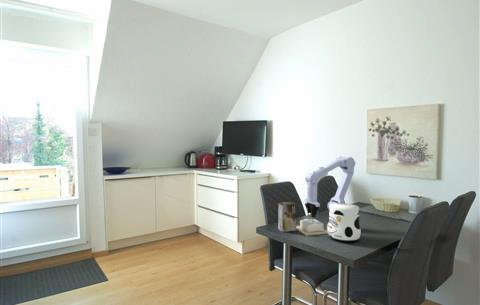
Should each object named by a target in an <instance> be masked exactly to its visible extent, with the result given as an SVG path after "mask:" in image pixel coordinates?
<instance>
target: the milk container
mask: <svg viewBox="0 0 480 305" xmlns="http://www.w3.org/2000/svg"><path fill="white" fill-rule="evenodd" d="M328 212H329V214H328V215H329V216H328V222H327V225H328V226H327V225H326V228H327V229H326V230H327V232H328V235H327V236H329V237H330V238H332V239H333V240H336V241H340V242H355V241H358V240H359V239H360V237H361V234H362V232H361V226H360V207H359V205H356V204H352V203H346V202H345V203H333V204H330V207H329V210H328Z"/></svg>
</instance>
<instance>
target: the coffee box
mask: <svg viewBox="0 0 480 305" xmlns="http://www.w3.org/2000/svg"><path fill="white" fill-rule="evenodd" d="M277 211H278V212H277V215H278V219H277V221H278V222H277V223H278V225H277V226H278V227H277V228H278V230H279V231H280V232H284V233H286V232H296V231H297V229H296V226H297V203H295V202H292V201H287V202H278V208H277Z"/></svg>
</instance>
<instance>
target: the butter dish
mask: <svg viewBox="0 0 480 305" xmlns="http://www.w3.org/2000/svg"><path fill="white" fill-rule="evenodd" d="M307 220H309V219H308V218H306V219H300V220H299V225H296V231H298V230H299V231H298V232H300V233H302V234H303V235H305V236H314V235H315V236H316V235H326V234H328V232H327V229H326V228H324V225H325V224H324V223H323V222H321V221H319V220H317V219H315V218H313V220H315V221H317V222H319V224H307V223H305V222H304V221H307Z"/></svg>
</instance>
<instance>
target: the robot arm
mask: <svg viewBox="0 0 480 305" xmlns="http://www.w3.org/2000/svg"><path fill="white" fill-rule="evenodd" d="M356 164H357V163H356V160H355V159H354V158H353V157H352V156H351V157H349V156H341V155H340V156H339V157H337V158H336V159H334V160H333V161H332V162H331V163H329V164H328V165H326V166H325V167H324V166H319V167H318V169H316V170H313V171H312V172H309V173H308V174H306V177H305V181H306V188H307V190H306V191H307V194H306V198H304V202H305V203H304V206H305V209H306V212H307V214H308V213H309V212H311V215H312V217H313V218H316V217H317V213H318V210H319V209H320V207H321V204H320V203H319V202H318V183H320V180H321V179H323V178H324V177H325V178H326V176H328V175H329V172H331V171H333V170H335V169H337V168H338V167H339V168H340V170H342V172H343V174H342V176H341V179H340V182H339V185H338V186H337V189H336V193H335V195H334V196H333V197H331V198H330V201H329V202H327V209H328V211H329V207H330V204H333V203H346V202H345V201H346V200H345V197H346V194H347V192H348V190H349V186H350V184H351V182H352V179H353V176H354V173H355V166H356ZM327 226H328V224H327V225H326V227H327Z"/></svg>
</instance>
